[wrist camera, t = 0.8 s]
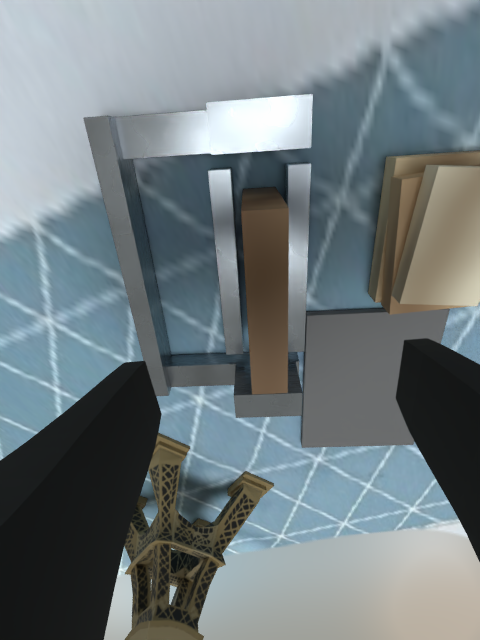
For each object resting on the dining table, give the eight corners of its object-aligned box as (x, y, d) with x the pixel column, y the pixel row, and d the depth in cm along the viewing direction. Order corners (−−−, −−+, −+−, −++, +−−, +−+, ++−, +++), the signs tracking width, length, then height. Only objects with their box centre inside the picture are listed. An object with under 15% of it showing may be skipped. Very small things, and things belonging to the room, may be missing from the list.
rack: (308, 104, 14) (328, 92, 11) (300, 370, 21) (310, 415, 18) (102, 120, 15) (58, 113, 11) (160, 375, 22) (143, 420, 18)
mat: (445, 305, 19) (449, 309, 19) (410, 439, 24) (413, 444, 24) (305, 311, 19) (307, 315, 19) (301, 442, 25) (302, 447, 24)
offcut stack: (483, 150, 15) (541, 152, 12) (446, 291, 19) (484, 320, 16) (383, 157, 15) (416, 160, 12) (365, 295, 19) (387, 324, 16)
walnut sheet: (275, 186, 16) (289, 208, 11) (276, 326, 20) (287, 393, 15) (242, 188, 16) (241, 211, 11) (250, 328, 20) (252, 394, 15)
